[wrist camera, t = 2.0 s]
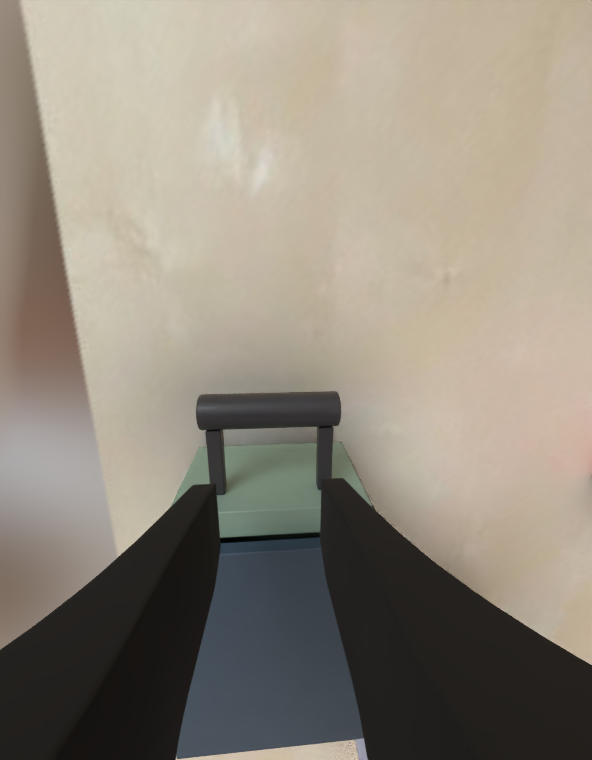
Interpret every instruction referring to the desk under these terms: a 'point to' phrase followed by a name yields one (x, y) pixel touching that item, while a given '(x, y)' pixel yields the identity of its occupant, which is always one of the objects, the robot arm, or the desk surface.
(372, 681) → the robot arm
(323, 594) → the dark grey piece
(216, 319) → the desk surface
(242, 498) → the drawer
